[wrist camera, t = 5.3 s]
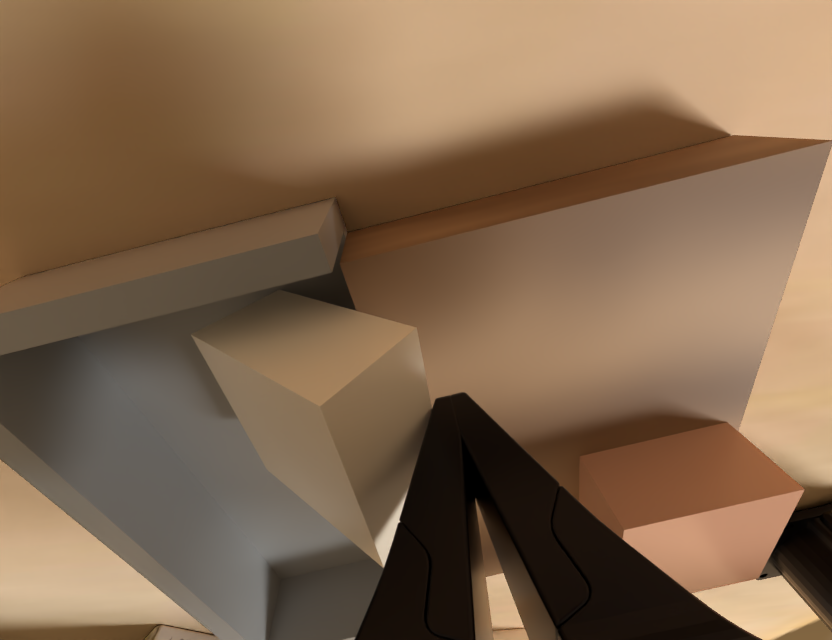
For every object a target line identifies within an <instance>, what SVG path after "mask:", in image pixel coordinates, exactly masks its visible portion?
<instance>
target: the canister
mask: <svg viewBox="0 0 832 640" xmlns="http://www.w3.org/2000/svg"><path fill="white" fill-rule="evenodd" d="M493 638H494V640H529V638H528V636H527V633H526V630H525V628H521V629H509V630H497V631H493Z"/></svg>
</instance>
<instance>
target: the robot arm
mask: <svg viewBox="0 0 832 640" xmlns="http://www.w3.org/2000/svg"><path fill="white" fill-rule="evenodd" d="M475 499H476V500H475ZM476 501H477V504H478V507H479V509H480V512H481V515H482V517H483V520H484V522H485V525H486V528H487V530H488V533H489V536H490V538H491V541H492V543H493V546H494V549H495V551H496V554H497V557H498V559H499V562H500V565H501V567H502V570H503V572H504V575H505V578H506V580H507V583H508V586H509V588H510V591H511V593H512V596H513V599H514V601H515V604H516V607H517V609H518V612H519V615H520V617H521V620H522V622H523V625H524V628H525V630H526V633H527V636H528V638H529V640H762V639H760V638H758V637H756V636H754V635H753V634H751V633H749V632H747V631H745V630H744V629H742V628H740V627H738V626H737V625H735V624H734V623H732V622H730V621H729V620H727V619H726V618H724V617H723V616H721V615H720V614H718V613H717V612H715V611H714V610H712V609H711V608H710V607H708V606H707V605H706V604H704V603H703V602H702V601H701V600H699V599H698V598H697V597H695V596H694V595H693V594H692V593H690V592H689V591H688V590H686V589H685V588H684V587H683V586H681V585H680V584H679V583H678V582H676V581H675V580H674V579H672V578H671V577H670V576H669V575H667V574H666V573H665V572H664V571H662V570H661V569H660V568H658V567H657V566H656V565H655V564H653V563H652V562H651V561H650V560H648V559H647V558H646V557H644V556H643V555H642V554H641V553H639V552H638V551H637V550H636V549H634V548H633V547H632V546H630V545H629V544H628V543H627V542H625V541H624V540H623V539H622V538H621V537H619V536H618V535H617V534H616V533H614V532H613V531H612V530H611V529H610V528H608V527H607V526H606V525H605V524H604V523H602V522H601V521H600V520H599V519H598V518H596V517H595V516H594V515H593V514H592V513H591V512H590V511H589V510H588V509H587V508H585V507H584V506H583V505H582V504H581V503H580V502H579V501H578V500H577V499H576V498H575V497H574V496H573V495H572V494H571V493H569V492H568V491H567V490H566V489H565V488H564V487H563V486H560V483H559V482H558V481H557V480H556V479H555V478H554V477H553V476H552V475H551V474H550V473H549V472H548V471H546V470H545V469H544V468H543V467H542V466H541V465H540V464H539V463H538V462H537V461H536V460H535V459H534V458H533V457H532V456H531V455H530V454H529V453H528V452H527V451H526V450H525V449H524V448H523V447H522V446H521V445H520V444H519V443H517V442H516V441H515V440H514V439H513V438H512V437H511V436H510V435H509V434H508V433H507V432H506V431H505V430H504V429H503V428H502V427H501V426H500V425H499V424H498V423H497V422H496V421H495V420H494V419H493V418H492V417H491V416H490V415H488V414H487V413H486V412H485V411H484V410H483V409H482V408H481V407H480V406H479V405H478V404H477V403H476V402H475V401H474V400H473V399H472V398H471V397H470V396H469V395H468V394H467V393H465V392H460V393H456V394H452V395H447V396H443V397H439V398H436V399H435V401H434V404H433V408H432V411H431V414H430V418H429V421H428V424H427V428H426V431H425V435H424V438H423V441H422V445H421V448H420V451H419V455H418V458H417V461H416V465H415V468H414V472H413V475H412V478H411V482H410V485H409V488H408V492H407V495H406V498H405V502H404V505H403V509H402V512H401V515H400V519H399V520H400V522H399V523H398V525H397V528H396V532H395V535H394V538H393V542H392V545H391V548H390V551H389V554H388V557H387V560H386V563H385V566H384V569H383V571H382V574H381V576H380V579H379V581H378V584H377V586H376V589H375V591H374V594H373V597H372V599H371V601H370V604H369V606H368V608H367V611H366V613H365V616H364V618H363V620H362V623H361V625H360V627H359V630H358V632H357V635H356V637H355V639H354V640H494V638H493V630H492V622H491V615H490V607H489V599H488V592H487V584H486V576H485V569H484V561H483V554H482V546H481V538H480V531H479V523H478V515H477V508H476ZM780 575H782V576H783V578H784V579H785V580H786V581H787V582H788V583H789V584H790V585H791V587H792V588H793V589H794V590H795V591H796V592H797V593H798V594H799V596H800V597H801V598H802V599H803V600H804V601H805V602H806V604H807V605H808V606H809V607H810V608H811V609H812V610H813V611H814V613H815V614H816V615H817V616H818V617H819V618H820V619H821V620H822V621H823V623H824V624H825V625H826V626H827V627H828V628H829V630H830V631H831V632H832V504H830V505H826V506H821V507H817V508H812V509H808V510H803V511H799V512H795V513H792V515H791V517H790V519H789V521H788V523H787V525H786V526H785V528H784V530H783V532H782V534H781V536H780V538H779V540H778V542H777V544H776V546H775V548H774V549H773V551H772V553H771V555H770V557H769V559H768V561H767V563H766V565H765V567H764V569H763V571H762V572H761V574H760V576H759V578H757V579H756V580H762V579H767V578H771V577H776V576H780Z"/></svg>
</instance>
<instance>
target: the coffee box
mask: <svg viewBox="0 0 832 640" xmlns="http://www.w3.org/2000/svg"><path fill="white" fill-rule="evenodd" d="M144 640H220V639H219V638H218V637H217V636H215V635H210V634H205V633H200V632H195V631H190V630H185V629H180V628H175V627H170V626H165V625H159V626H157V627H155V628H154V629H153V630H152V631H151V633H150V634H149V635H148V636H147V637H146V638H145V639H144Z"/></svg>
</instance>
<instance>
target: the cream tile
mask: <svg viewBox="0 0 832 640" xmlns="http://www.w3.org/2000/svg"><path fill="white" fill-rule="evenodd" d="M191 336H192V338H193V339H194V341H195V343H196V345H197V346H198V348H199V350H200V352H201V354H202V355H203V357H204V359H205V361H206V362H207V364H208V366H209V368H210V370H211V371H212V373H213V375H214V377H215V378H216V380H217V382H218V384H219V385H220V387H221V389H222V391H223V393H224V394H225V396H226V398H227V400H228V401H229V403H230V405H231V407H232V409H233V410H234V412H235V414H236V416H237V417H238V419H239V421H240V423H241V424H242V426H243V428H244V430H245V432H246V433H247V435H248V437H249V439H250V440H251V442H252V444H253V446H254V448H255V449H256V451H257V453H258V455H259V456H260V458H261V460H262V462H263V463H264V465H265V467H266V469H267V470H268V471H269V472H270V473H272V474H273V475H274V476H275V477H276V478H278V479H279V480H280V481H281V482H282V483H283V484H285V485H286V486H287V487H288V488H289V489H291V490H292V491H293V492H294V493H295V494H296V495H298V496H299V497H300V498H301V499H302V500H304V501H305V502H306V503H307V504H308V505H309V506H311V507H312V508H313V509H314V510H315V511H317V512H318V513H319V514H320V515H321V516H322V517H324V518H325V519H326V520H327V521H328V522H330V523H331V524H332V525H333V526H334V527H335V528H337V529H338V530H339V531H340V532H341V533H343V534H344V535H345V536H346V537H347V538H348V539H350V540H351V541H352V542H353V543H354V544H356V545H357V546H358V547H359V548H360V549H361V550H363V551H364V552H365V553H366V554H367V555H369V556H370V557H371V558H372V559H373V560H374V561H376V562H377V563H378V564H379V565H380V566H382V567H383V568H384V566H385V563H386V560H387V557H388V554H389V551H390V548H391V545H392V542H393V538H394V535H395V532H396V528H397V525H398V523H399V522H400V520H399V519H400V515H401V512H402V509H403V505H404V502H405V498H406V495H407V492H408V488H409V485H410V482H411V478H412V475H413V472H414V468H415V465H416V461H417V458H418V455H419V451H420V448H421V445H422V441H423V438H424V435H425V431H426V428H427V424H428V421H429V418H430V414H431V411H432V406H431V401H430V396H429V390H428V385H427V380H426V374H425V369H424V364H423V358H422V353H421V348H420V342H419V337H418V332H417V328H416V327H413V326H409V325H405V324H402V323H398V322H395V321H391V320H387V319H384V318H380V317H377V316H373V315H369V314H366V313H362V312H358V311H355V310H351V309H348V308H344V307H340V306H337V305H333V304H330V303H326V302H322V301H319V300H315V299H311V298H308V297H304V296H301V295H297V294H293V293H290V292H286V291H283V290H277V291H275V292H273V293H271V294H270V295H268V296H266V297H264V298H262V299H260V300H258V301H256V302H254V303H252V304H250V305H248V306H246V307H244V308H242V309H240V310H238V311H236V312H234V313H232V314H230V315H228V316H226V317H224V318H222V319H220V320H218V321H216V322H214V323H212V324H210V325H208V326H206V327H204V328H202V329H200V330H198V331H196V332H194V333H192V334H191Z"/></svg>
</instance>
